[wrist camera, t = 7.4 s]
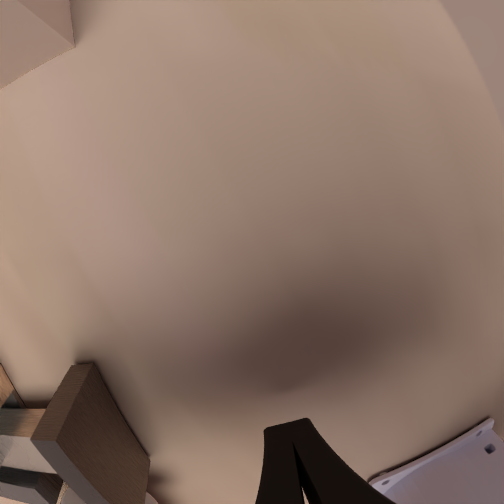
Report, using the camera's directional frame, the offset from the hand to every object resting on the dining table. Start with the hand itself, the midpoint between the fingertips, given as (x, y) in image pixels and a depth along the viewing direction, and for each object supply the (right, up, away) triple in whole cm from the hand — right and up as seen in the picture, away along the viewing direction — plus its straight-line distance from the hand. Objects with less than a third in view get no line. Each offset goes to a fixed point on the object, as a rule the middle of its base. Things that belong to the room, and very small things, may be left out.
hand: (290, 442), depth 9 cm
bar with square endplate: (-10, -1, +2) cm, 10 cm away
